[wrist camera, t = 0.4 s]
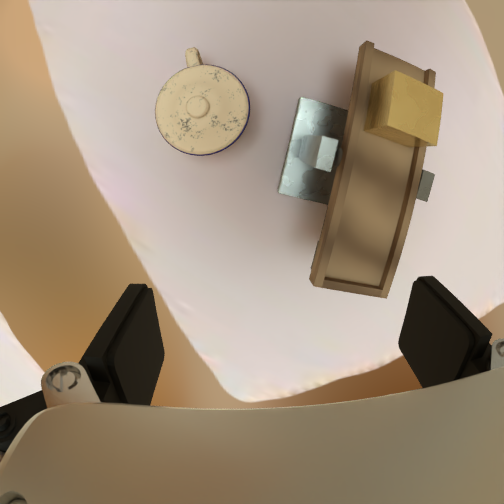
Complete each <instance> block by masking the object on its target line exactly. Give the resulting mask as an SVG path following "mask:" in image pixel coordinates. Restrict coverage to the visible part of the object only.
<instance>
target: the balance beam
mask: <svg viewBox="0 0 504 504" xmlns="http://www.w3.org/2000/svg"><path fill="white" fill-rule="evenodd" d="M395 70H396V71H398V72H401V73H403V74H405V75H407V76H410V77H412V78H414V79H416V80H418V81H420V82H422V83H424V84H426V85H428V86H430V87H432V88H434V86H435V74H436V72H435V71H433V70H431V69H428V70H426V71H424V70H422V69H420V68H418V67H416V66H414V65H412V64H409V63H407V62H405V61H403V60H401V59H398V58H396V57H394V56H392V55H389V54H387V53H385V52H382V51H380V50H377V49H375V48H374V43H372V42H369V41H366V42H364V43H363V44H362V45H361V46H360V47H359V53H358V59H357V65H356V71H355V77H354V83H353V89H352V94H351V100H350V105H349V111H348V116H347V121H346V126H345V131H344V136H343V141H342V146H341V148H338V149H337V151H336V153H335V156H334V166H336V167H337V169H336V174H335V178H334V182H333V187H332V191H331V195H330V200H329V204H328V208H327V212H326V216H325V220H324V224H323V228H322V232H321V236H320V240H319V241H318V243H317V247H316V251H315V255H314V259H313V262H312V266H311V274H310V277H309V280H310V281H311V283H312V284H313V286H315V287H321V288H327V289H332V290H338V291H344V292H350V293H356V294H362V295H368V296H374V297H380V298H387V296H388V293H389V290H390V287H391V284H392V281H393V278H394V275H395V272H396V269H397V266H398V263H399V259H400V256H401V253H402V249H403V246H404V242H405V239H406V235H407V232H408V228H409V224H410V220H411V216H412V212H413V208H414V204H415V200H416V196H417V191H418V187H419V182H420V178H421V173H422V168H423V163H424V157H425V152H426V146H424V147H406V146H403V145H401V144H398V143H395V142H393V141H390V140H387V139H385V138H382V137H379V136H376V135H373V134H370V133H368V132H365V131H364V126H365V121H366V115H367V110H368V104H369V98H370V92H371V86H372V83H374V82H375V81H377V80H379V79H381V78H382V77H384V76H386V75H388V74H390V73H391V72H393V71H395Z"/></svg>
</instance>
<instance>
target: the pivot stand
mask: <svg viewBox="0 0 504 504" xmlns="http://www.w3.org/2000/svg"><path fill="white" fill-rule="evenodd" d="M347 116H348V110H344V109H341V108H338V107H335V106H332V105H328V104H325V103H321V102H318V101H314V100H311V99H307V98H303V97H301V98H299V102H298V106H297V111H296V115H295V119H294V124H293V128H292V132H291V136H290V141H289V145H288V149H287V154H286V158H285V162H284V166H283V170H282V175H281V179H280V183H279V187H278V193H280V194H285V195H289V196H293V197H298V198H302V199H306V200H311V201H315V202H319V203H323V204H327V205H328V204H329V200H330V195H331V191H332V187H333V182H334V178H335V174H336V169H337V167H336V166H334V156H335V153H336V151H337V149H338V148H341V146H342V141H343V136H344V131H345V126H346V121H347ZM434 176H435V174H433V173H430V172H428V171H425V170H422V173H421V178H420V182H419V187H418V191H417V196H416V198H417V199H420V200H423V201H426V202H427V201H428V197H429V194H430V190H431V187H432V183H433V180H434Z"/></svg>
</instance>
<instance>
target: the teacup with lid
mask: <svg viewBox="0 0 504 504" xmlns="http://www.w3.org/2000/svg"><path fill="white" fill-rule="evenodd" d="M185 55H186V62H187V67H188V68H185V69H183V70H181V71H179V72H178V73H176V74H175V75H174V76H172V77H171V78H170V79H169V80H168V81H167V82H166V83H165V85H164V86H163V88H162V89H161V91H160V93H159V95H158V98H157V102H156V107H155V118H156V123H157V126H158V129H159V131H160V133H161V135H162V136H163V138H164V139H165V140H166V141H167V142H168V143H169V144H170V145H171V146H172V147H174V148H175V149H177V150H179V151H181V152H183V153H186V154H190V155H197V156H204V155H211V154H215V153H218V152H220V151H222V150H224V149H226V148H228V147H229V146H231V145H232V144H233V143H234V142H235V141H236V140H237V139H238V138H239V137H240V136H241V134H242V133H243V131H244V129H245V127H246V125H247V123H248V119H249V114H250V102H249V97H248V94H247V91H246V89H245V87H244V85H243V84H242V82H241V81H240V80H239V79H238V78H237V77H236V76H235V75H234V74H232V73H231V72H230V71H228V70H226V69H224V68H221V67H218V66H214V65H203V63H202V59H201V56H200V54H199V51H198V49H197V48H195V47H193V48H189V49H187V50H186V53H185Z"/></svg>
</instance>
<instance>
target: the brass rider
mask: <svg viewBox="0 0 504 504" xmlns="http://www.w3.org/2000/svg"><path fill="white" fill-rule="evenodd" d="M442 102H443V93H442V92H440V91H438V90H436V89H434V88H432V87H430V86H428V85H426V84H424V83H422V82H420V81H418V80H416V79H414V78H412V77H410V76H407V75H405V74H403V73H401V72H398V71H396V70H395V71H393V72H391V73H390V74H388V75H386V76H384V77H382V78H381V79H379V80H377V81H375V82H374V83H372V86H371V92H370V98H369V104H368V110H367V115H366V121H365V126H364V131H365V132H368V133H370V134H373V135H376V136H379V137H382V138H385V139H387V140H390V141H393V142H395V143H398V144H401V145H403V146H406V147H424V146H437V140H438V134H439V127H440V119H441V111H442Z"/></svg>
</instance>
